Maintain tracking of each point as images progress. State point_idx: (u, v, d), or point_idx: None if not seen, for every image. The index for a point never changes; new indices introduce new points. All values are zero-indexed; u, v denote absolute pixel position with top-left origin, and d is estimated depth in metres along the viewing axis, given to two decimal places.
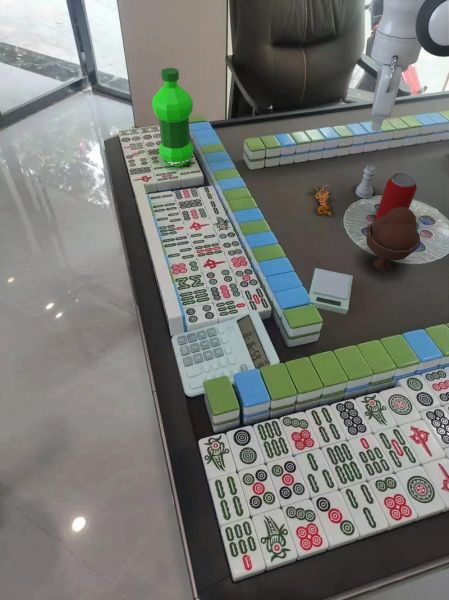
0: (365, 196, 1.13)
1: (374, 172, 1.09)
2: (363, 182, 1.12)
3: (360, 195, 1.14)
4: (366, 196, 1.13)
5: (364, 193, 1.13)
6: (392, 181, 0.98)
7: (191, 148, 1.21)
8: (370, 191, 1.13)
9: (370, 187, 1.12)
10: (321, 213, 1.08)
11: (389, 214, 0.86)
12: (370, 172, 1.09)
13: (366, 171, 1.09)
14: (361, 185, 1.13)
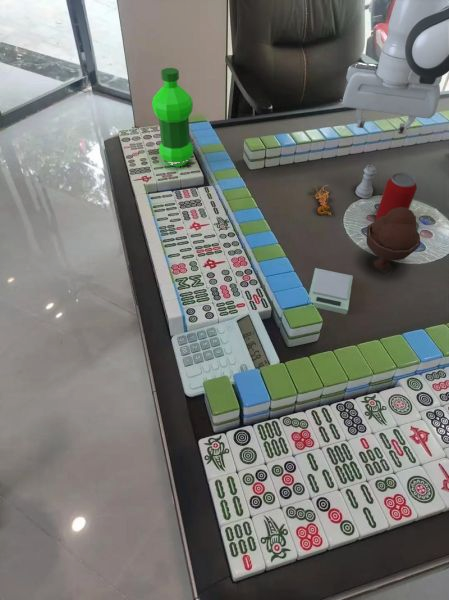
0: (365, 196, 1.13)
1: (374, 172, 1.09)
2: (363, 182, 1.12)
3: (360, 195, 1.14)
4: (366, 196, 1.13)
5: (364, 193, 1.13)
6: (392, 181, 0.98)
7: (191, 148, 1.21)
8: (370, 191, 1.13)
9: (370, 187, 1.12)
10: (321, 213, 1.08)
11: (389, 214, 0.86)
12: (370, 172, 1.09)
13: (366, 171, 1.09)
14: (361, 185, 1.13)
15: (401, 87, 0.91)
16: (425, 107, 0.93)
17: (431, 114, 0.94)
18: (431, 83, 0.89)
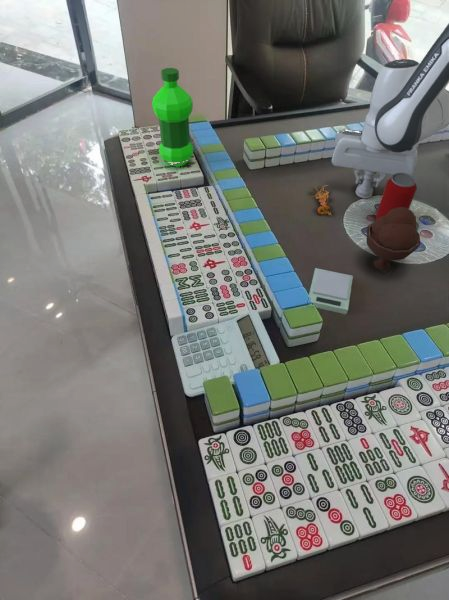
0: (365, 196, 1.13)
1: (374, 172, 1.09)
2: (363, 182, 1.12)
3: (360, 195, 1.14)
4: (366, 196, 1.13)
5: (364, 193, 1.13)
6: (392, 181, 0.98)
7: (191, 148, 1.21)
8: (370, 191, 1.13)
9: (370, 187, 1.12)
10: (321, 213, 1.08)
11: (389, 214, 0.86)
12: (370, 172, 1.09)
13: (366, 171, 1.09)
14: (361, 185, 1.13)
15: (383, 152, 1.03)
16: (405, 168, 1.05)
17: (410, 174, 1.05)
18: (409, 149, 1.00)
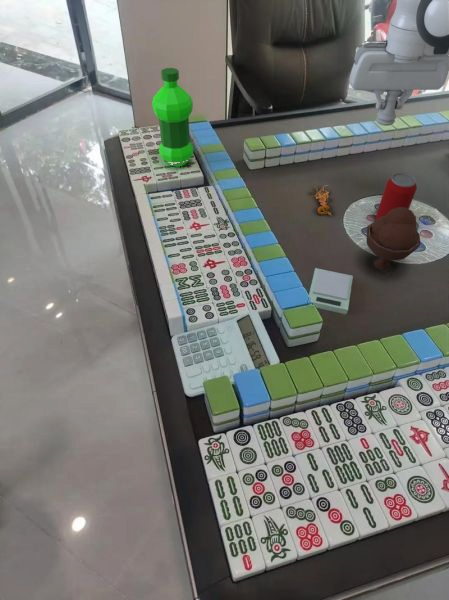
0: (390, 122, 0.99)
1: (399, 91, 0.94)
2: (386, 106, 0.97)
3: (384, 122, 0.99)
4: (391, 122, 0.99)
5: (389, 119, 0.98)
6: (392, 181, 0.98)
7: (191, 148, 1.21)
8: (394, 115, 0.98)
9: (394, 111, 0.98)
10: (321, 213, 1.08)
11: (389, 214, 0.86)
12: (396, 91, 0.94)
13: (391, 91, 0.94)
14: (384, 110, 0.98)
15: (414, 61, 0.88)
16: (436, 78, 0.92)
17: (441, 84, 0.93)
18: (444, 53, 0.87)
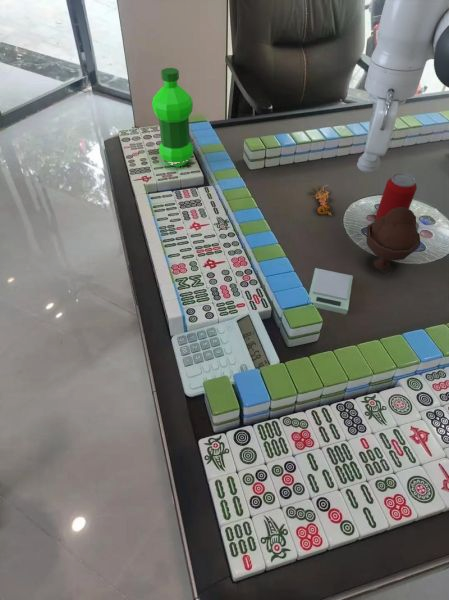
0: None
1: None
2: None
3: (377, 168, 0.85)
4: None
5: None
6: (392, 181, 0.98)
7: (191, 148, 1.21)
8: None
9: None
10: (321, 213, 1.08)
11: (389, 214, 0.86)
12: None
13: None
14: None
15: None
16: None
17: None
18: None
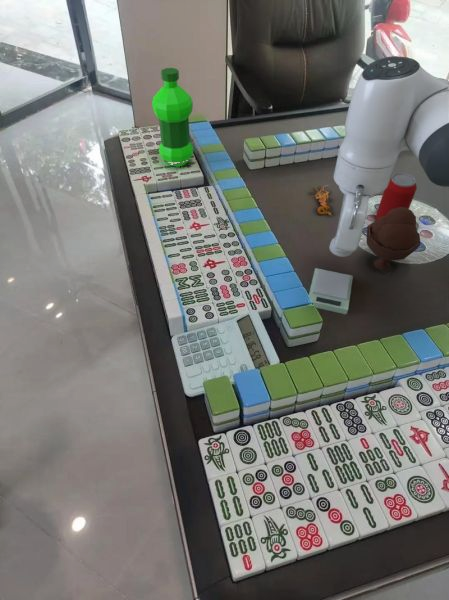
0: None
1: None
2: None
3: (350, 252, 0.80)
4: None
5: None
6: (392, 181, 0.98)
7: (191, 148, 1.21)
8: None
9: None
10: (321, 213, 1.08)
11: (389, 214, 0.86)
12: None
13: None
14: None
15: None
16: None
17: None
18: None
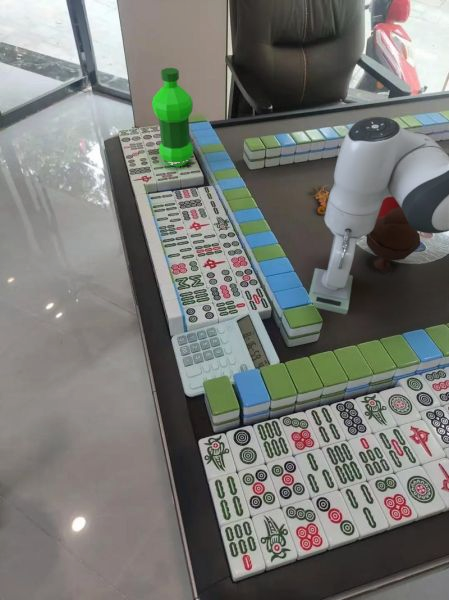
0: None
1: None
2: None
3: None
4: None
5: None
6: None
7: (191, 148, 1.21)
8: None
9: None
10: (321, 213, 1.08)
11: (389, 214, 0.86)
12: None
13: None
14: None
15: None
16: None
17: None
18: None
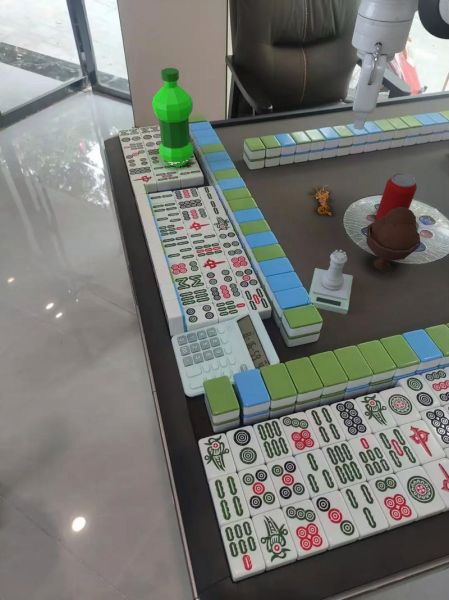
0: None
1: None
2: (339, 272, 0.85)
3: (341, 285, 0.87)
4: None
5: (343, 279, 0.87)
6: (392, 181, 0.98)
7: (191, 148, 1.21)
8: None
9: None
10: (321, 213, 1.08)
11: (389, 214, 0.86)
12: (346, 257, 0.83)
13: (343, 260, 0.82)
14: (337, 277, 0.85)
15: None
16: None
17: None
18: None
